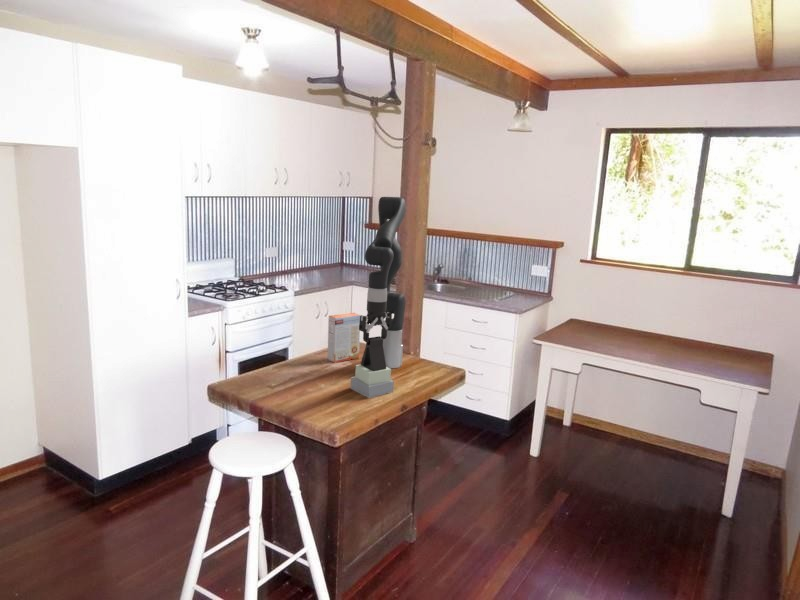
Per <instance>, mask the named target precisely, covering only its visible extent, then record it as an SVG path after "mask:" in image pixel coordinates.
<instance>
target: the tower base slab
mask: <svg viewBox="0 0 800 600" xmlns="http://www.w3.org/2000/svg"><path fill="white" fill-rule="evenodd" d="M394 383H395V381H394V380H392V379H391V380H390V382H384V383H379V384H373V385H367V384H366V383H364V382H362V381H361V380H359V379H357V378H356V377H355V376H351V377H350V389H351V390H352V391H354V392H356V393H358V394H360V395H362V396H364V397H365V396H366V398H368V399H371V398H375V397H380V396H383V394H384V395H387V394H386V393H388V394H391V393H390V392H392V393H394V388H395V387H394Z"/></svg>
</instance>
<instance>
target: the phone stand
mask: <svg viewBox="0 0 800 600" xmlns="http://www.w3.org/2000/svg"><path fill="white" fill-rule="evenodd" d="M365 343H366V344H365V348H364V351H363V354H362V358H361V361H360V364H361V365H362V366H364V367H366V368H368V369H370V370H372V371H378V370H383V369H386V363H385V356H384V349H383V338H382V337H381V335H380V336H379V335H378V336H372V337H369V342H365Z"/></svg>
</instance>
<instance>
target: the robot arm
mask: <svg viewBox="0 0 800 600" xmlns="http://www.w3.org/2000/svg"><path fill="white" fill-rule="evenodd" d="M406 207H407V205H406V200H405V198H403V197H400V196H381V197H380V198H379V199H378V207H377V211H378V212H377V213H378V223H379V225H378V226H379V228H378V230H377V232H376V234H375V237H374V240H373V241H372V242H371V243H370V244H369V246H368V247H367V248H366V251H365V253H364V260H365V262H366V263H367V264H368V265H370V266H376V267H377V266H378V267H380V270H375V271H371V272H370V273H369V275H368V289H367V298H366V312H367V313H366V315H363V314H362V315H361V314H360V315H361V316H360V323H359V330H360V332H363V334H362V335H363V336H362V339H363V342H365V343H366V342H369V338H370V331H371V329H373V328H374V327H375V326H380V327H381V331H380V332H381V333H380V337H382V338H383V349H384V356H385V363H386V367H388V368H390V369H398V368H400V367H402V366H403V353H404V352H403V351H404V345H403V343H402V341H403V328H404V327H403V325H404V321H405V311H406V303H407V301H406V296H405V295H404V294H403V293H398V292H391V284H392V281H393V280H394V278H395V277H396V275H397V273H398V272H399V270H400V268H401V266H402V263H403V262H402V261H403V258H402V248H401V245H400V243H399V242H398V240H397V239H396V237H395V236H396V233H397V231H398V230H399V227H400V226H401V223H402V222H403V221H404V217H405V214H406V212H407V211H406Z"/></svg>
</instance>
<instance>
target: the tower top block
mask: <svg viewBox="0 0 800 600" xmlns="http://www.w3.org/2000/svg"><path fill="white" fill-rule="evenodd" d="M354 377H356V378H357V379H359V380H361V381H362V382H364V383H366V384H367V385H373V384H379V383H384V382H390V380H392V368H388V367H386V369H383V370H378V371H372V370H370V369H368V368H366V367H364V366H362V365H361V363H359V364H355V375H354Z"/></svg>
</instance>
